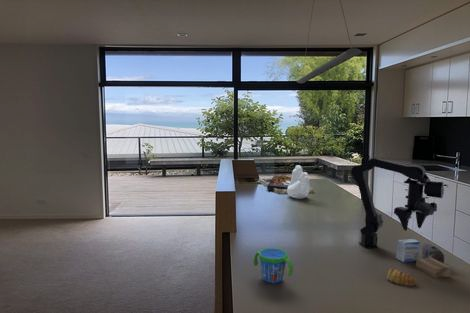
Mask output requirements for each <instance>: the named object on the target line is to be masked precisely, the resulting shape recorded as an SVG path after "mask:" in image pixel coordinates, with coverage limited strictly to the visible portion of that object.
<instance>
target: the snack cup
mask: <svg viewBox="0 0 470 313" xmlns="http://www.w3.org/2000/svg"><path fill="white" fill-rule="evenodd" d="M258 258H259V260H258ZM291 260H292V259H290V258H289V256H288V253H287V252H286V251H285V250H283V249H280V248H274V247H273V248H271V247H269V248H263V249H261V250H259V251H258V252H256V253H255V255H254V258H253V266H254V267H257V266H258V265H259V262H260V269H261V270H260V271H261V277H262V280H263V281H264V282H266V283H269V284H278V283H281V282H282V281H283V279H284V273H285V269H286V263H287V264H288V268H289V269H288V270H289V271H288V277H289V278H290V277H291V276H292V275H293V272H294V268H293V267H294V266H293V263H292V261H291Z"/></svg>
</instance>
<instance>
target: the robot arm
mask: <svg viewBox="0 0 470 313" xmlns="http://www.w3.org/2000/svg"><path fill="white" fill-rule="evenodd" d="M374 168H379V169H383V170H387V171H391V172H394V173H399V174H401V175H403V176H404V177H407V179H406V180H404V181H403V183H404V184H408V189H407V195H405V199H407V203H406V204H405V205H404V206H398V207H397V206H396V207H395V208H394V209H393V214H395V216H397V217H398V220H399V221H400V224H401V226H402V228H403V230H404V231H407V230H408V227H409V220H410V219H412V214H413V213H415V218H416V224H417V225H416V226H417V228H418V229H422V226H423V224H424V222H425V220H426V218H427V217H428V216H434V213H435V212H437V211H438V204H437V203H436V202H426V197H430V198H437V199H443V197H444V192H445V189H444V182H443V181H433V180H431V179H430V177H429V176H428V175H427V170H426V169H425V167H424V166H422V165H416V164H402V163H399V162H394V161H390V160H385V159H382V158H379V157H371V158H370V159H369V160H367V161H365V162H363V163H362V164H357V165H354V166H352V167H351V170H350V174H351V177H352V178H353V180H354V182H355V183H356V184H357V186H358V190H359V193H360V196H361V201H362V204H363V209H364V211H365V217H364V218H365V220H364V223H365V225H364V227H362V228H360V234H361V239H360V242H358V244H360V245H361V246H363V247H364V248H366V249H374V248H379V245H378V231H379V230H381V229H382V227H383V225H384V224H383V223H384V220H383V218H382V216H383V215H382V213H381V214H379V213H378V212H377V211H376V208H375V204H374V201H373V197H372V194H371V190H370V186H369V183H368V182H369V171H370V170H372V169H374ZM424 195H426V197H423V196H424Z"/></svg>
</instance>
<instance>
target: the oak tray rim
mask: <svg viewBox="0 0 470 313" xmlns="http://www.w3.org/2000/svg"><path fill="white" fill-rule="evenodd" d="M271 179H272V178H259V179H258V182H259V183H260V185H261V184H262V185H263V186H265V187H266V188H267V186H268V184H269V182H270V181H271ZM273 192H274V193H275V194H277V195H278V194H279V195H281V194H285V195H286V194H287V195H288V193H287V190H278V189H276V188H274V190H273V191H272V193H273ZM313 193H315V189H314V188H313V187H311V186H310V187H309V193H308V194H313Z"/></svg>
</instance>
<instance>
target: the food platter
mask: <svg viewBox="0 0 470 313" xmlns="http://www.w3.org/2000/svg"><path fill="white" fill-rule="evenodd" d="M291 177H292V175H291V176H289V175H286V174H285V175H284V174H279V175H273V177H271V176H270V178H269V179H271V181H270V182H268V186H267V187H266V188H267V191H270V192H271V191H272V192H273V190H274V188H276V189H278V190H287V188H288V186H289V183H290V181H291Z"/></svg>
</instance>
